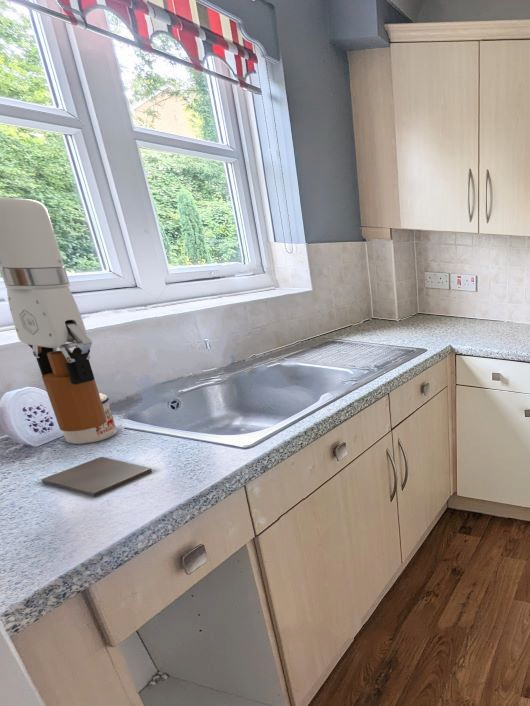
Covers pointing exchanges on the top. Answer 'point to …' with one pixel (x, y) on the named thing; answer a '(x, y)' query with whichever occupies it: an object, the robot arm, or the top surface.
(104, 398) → the teacup with lid
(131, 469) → the board
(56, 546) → the top surface
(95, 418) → the bottle
